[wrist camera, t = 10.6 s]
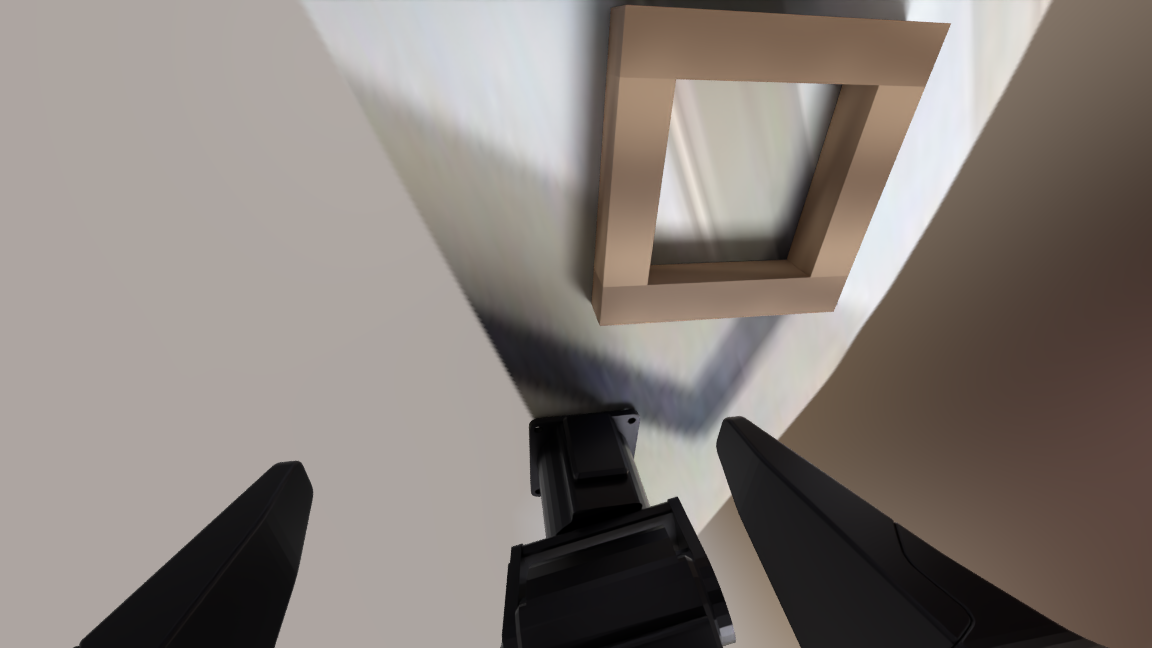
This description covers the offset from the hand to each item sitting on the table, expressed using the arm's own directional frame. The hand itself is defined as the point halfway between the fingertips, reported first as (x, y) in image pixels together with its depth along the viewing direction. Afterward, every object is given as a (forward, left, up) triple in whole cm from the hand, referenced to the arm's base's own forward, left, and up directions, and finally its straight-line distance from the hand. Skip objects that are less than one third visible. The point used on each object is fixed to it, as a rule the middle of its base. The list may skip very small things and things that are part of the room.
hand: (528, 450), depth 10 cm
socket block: (+2, -10, -12) cm, 16 cm away
